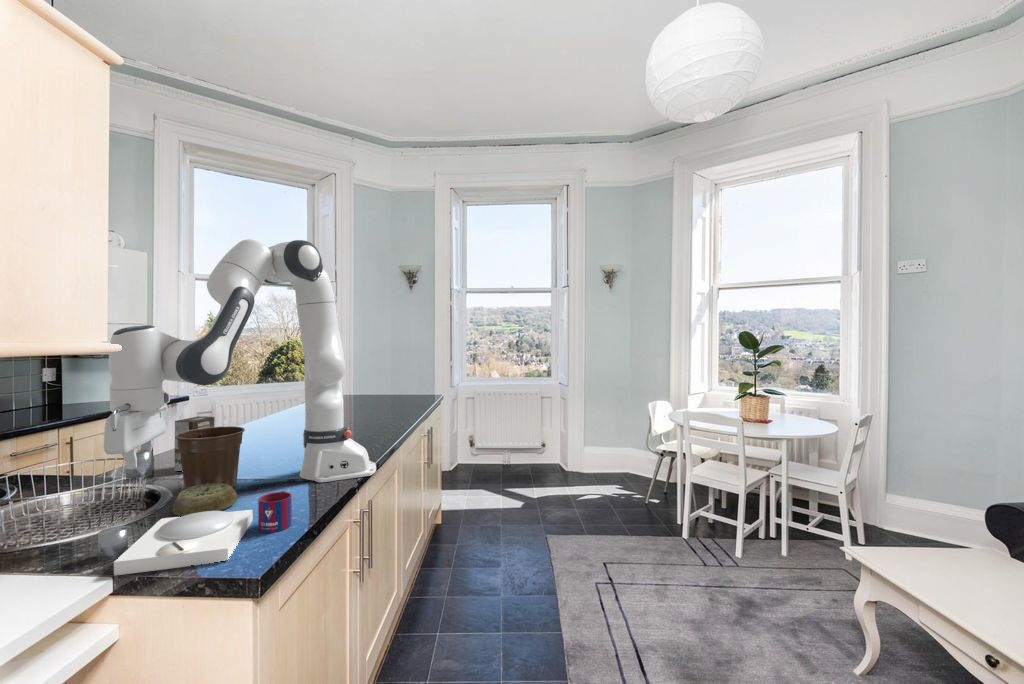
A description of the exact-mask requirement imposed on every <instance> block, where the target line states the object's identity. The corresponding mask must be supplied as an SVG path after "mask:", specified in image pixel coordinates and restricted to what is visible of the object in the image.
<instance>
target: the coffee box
mask: <svg viewBox="0 0 1024 684" xmlns="http://www.w3.org/2000/svg"><path fill="white" fill-rule="evenodd" d="M210 427H215V416H205V415H204V416H201V415H200V416H199V415H198V416H194V417H189V418H184V419H182V418H181V419H179V420H174V436H175V435H176V434H178V433H181V432H185V431H189V430H194V429H201V428H210ZM175 471H182V462H181V454H180V451H179V450H178V442H177V439H176V438H175V437H174V472H175Z"/></svg>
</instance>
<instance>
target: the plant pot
mask: <svg viewBox="0 0 1024 684" xmlns="http://www.w3.org/2000/svg"><path fill="white" fill-rule="evenodd" d="M244 432H245V428H244V427H241V426H214V427H210V428H201V429H194V430H189V431H185V432H181V433H178V434H176V435H175V434H174V439H175V438H176V439H177V442H178V450H179V451H180V454H181V462H182V471H183V472H182V477H183V478H182V480H183V490H184V489H187V488H189V487H192V486H196V485H201V484H208V483H224V484H228V485H230V486H232V487H233V489H234V488H235V487H237V482H238V474H239V473H238V471H239V462H240V452H241V451H240V450H241V444H242V443H243V434H244Z"/></svg>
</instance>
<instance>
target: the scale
mask: <svg viewBox="0 0 1024 684" xmlns="http://www.w3.org/2000/svg"><path fill="white" fill-rule="evenodd" d="M253 511H254V510H253V509H246V510H245V509H244V510H235V511H225V510H220V511H206V512H198V513H193V514H189V515H185V516H182V517H180V516H174V517H163V518H160V519H159V520H158V521H157V522H156V523H155V524H154V525H153V526H151V527H150V529H148V530H147V531H146V532H144V534H142V536H141V537H140V538H139V539H137V540H136V541H134V543H133V544H131V546H130V547H128V550H126V551H125V552H124V553H123V554H122V555H121V556H120V557H119V558H118V559H115V560H113V576H121V575H123V576H124V575H129V574H138V573H144V572H145V573H146V572H152V571H153V572H154V571H162V570H163V571H164V570H168V569H176V568H185V567H192V566H191V565H194V566H200V565H201V564H202V565H208V564H209V563H210V564H215V563H214V562H218V563H221V562H220V561H225V560H228V559H229V560H230V558H231V557H232V555H233V553H234V552H233V551H235V550H236V548H237V547H238V545H239V544H238V543H240V542H241V541H242V539H241V538H243V537H244V535H245V534H246V532H247V530H248V529H249V527H250V525H251V524H252V522H253V520H254V518H253V515H254V514H253ZM239 541H240V542H239ZM236 546H237V547H236ZM234 549H235V550H234ZM231 554H232V555H231ZM230 556H231V557H230ZM229 557H230V558H229ZM229 560H228V561H229Z"/></svg>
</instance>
